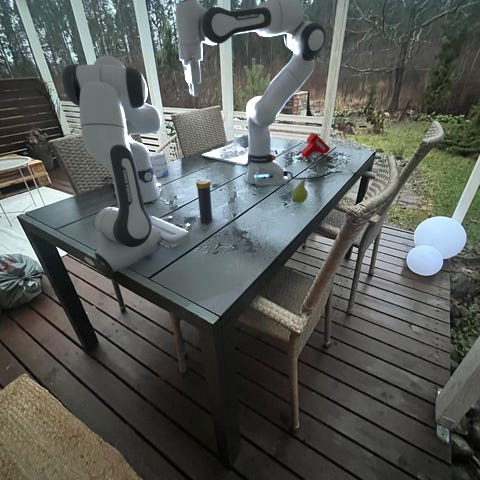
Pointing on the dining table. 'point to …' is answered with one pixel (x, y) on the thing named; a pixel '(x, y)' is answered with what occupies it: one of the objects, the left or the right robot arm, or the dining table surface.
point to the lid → (203, 183)
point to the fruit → (300, 192)
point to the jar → (205, 205)
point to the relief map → (230, 154)
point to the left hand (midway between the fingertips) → (180, 222)
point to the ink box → (159, 164)
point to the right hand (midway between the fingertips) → (194, 95)
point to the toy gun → (314, 146)
